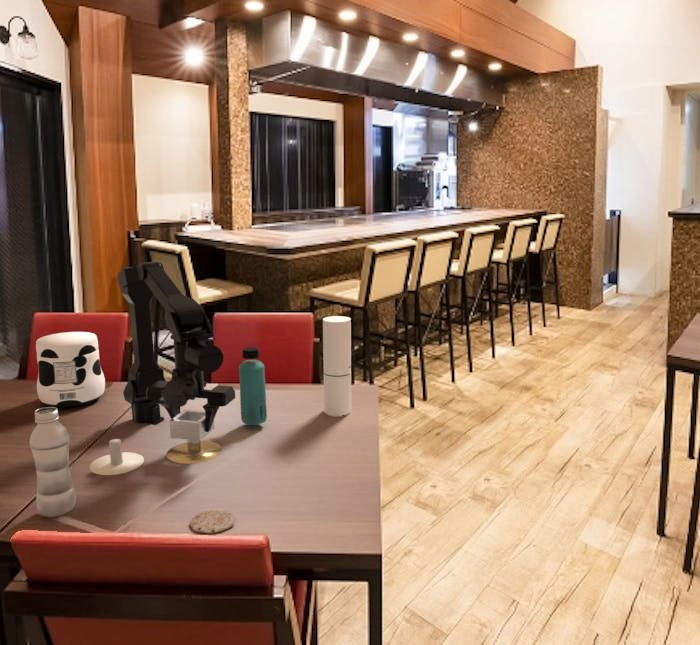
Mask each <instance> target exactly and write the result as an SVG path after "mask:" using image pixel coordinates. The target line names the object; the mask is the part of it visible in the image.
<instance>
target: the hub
mask: <svg viewBox="0 0 700 645" xmlns="http://www.w3.org/2000/svg"><path fill="white" fill-rule="evenodd" d="M222 451H223V448H222V446H221V445H220V444H218V443H217V442H214V441H210V440H209V441H208V440H201V441H196V440H186V442H182V443H179V444H176V445H174V446H173V447H171V448H170V449H168V451H166V458H167V459H168V460H169V461H172V462H173V463H178V464H187V465H188V464H189V465H190V464H199V463H204V462H207V461H210V460H212V459H215V458H217V457H218V456H219V455H221V453H222Z"/></svg>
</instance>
